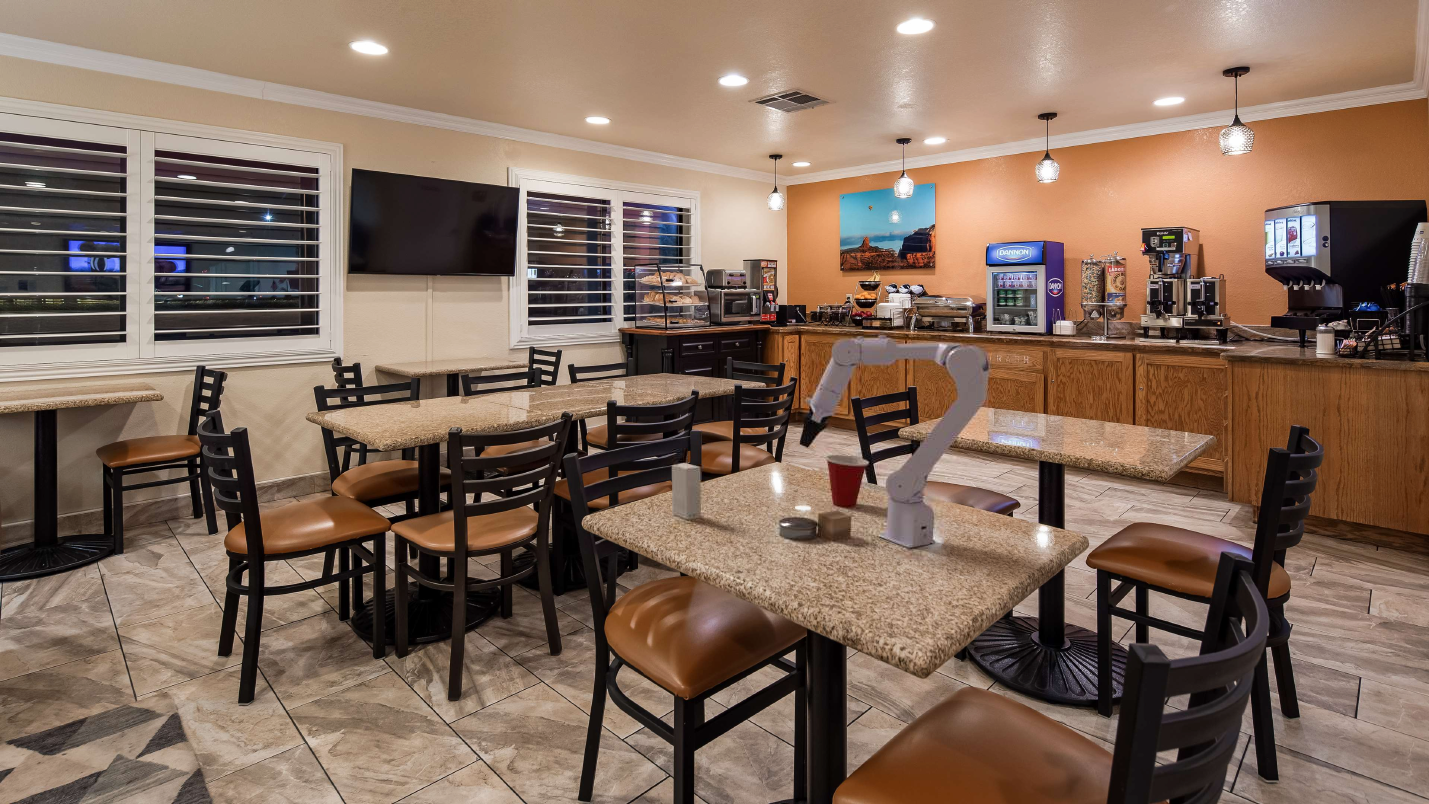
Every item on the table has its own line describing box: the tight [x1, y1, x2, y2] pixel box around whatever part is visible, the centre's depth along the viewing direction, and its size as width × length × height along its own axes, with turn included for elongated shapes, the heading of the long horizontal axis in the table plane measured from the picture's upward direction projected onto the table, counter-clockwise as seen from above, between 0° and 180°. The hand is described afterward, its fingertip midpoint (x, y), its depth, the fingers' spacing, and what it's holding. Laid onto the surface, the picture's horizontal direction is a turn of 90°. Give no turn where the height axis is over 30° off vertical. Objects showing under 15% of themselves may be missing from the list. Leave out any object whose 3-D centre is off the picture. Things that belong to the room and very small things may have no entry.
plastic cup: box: [825, 454, 870, 508], centre depth 187 cm, size 11×11×12 cm
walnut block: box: [816, 510, 852, 543], centre depth 161 cm, size 5×5×5 cm
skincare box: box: [671, 462, 702, 521], centre depth 174 cm, size 6×4×12 cm
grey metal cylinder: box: [778, 516, 818, 542], centre depth 162 cm, size 8×8×3 cm
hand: (806, 440), depth 170 cm, fingers open, 7 cm apart
